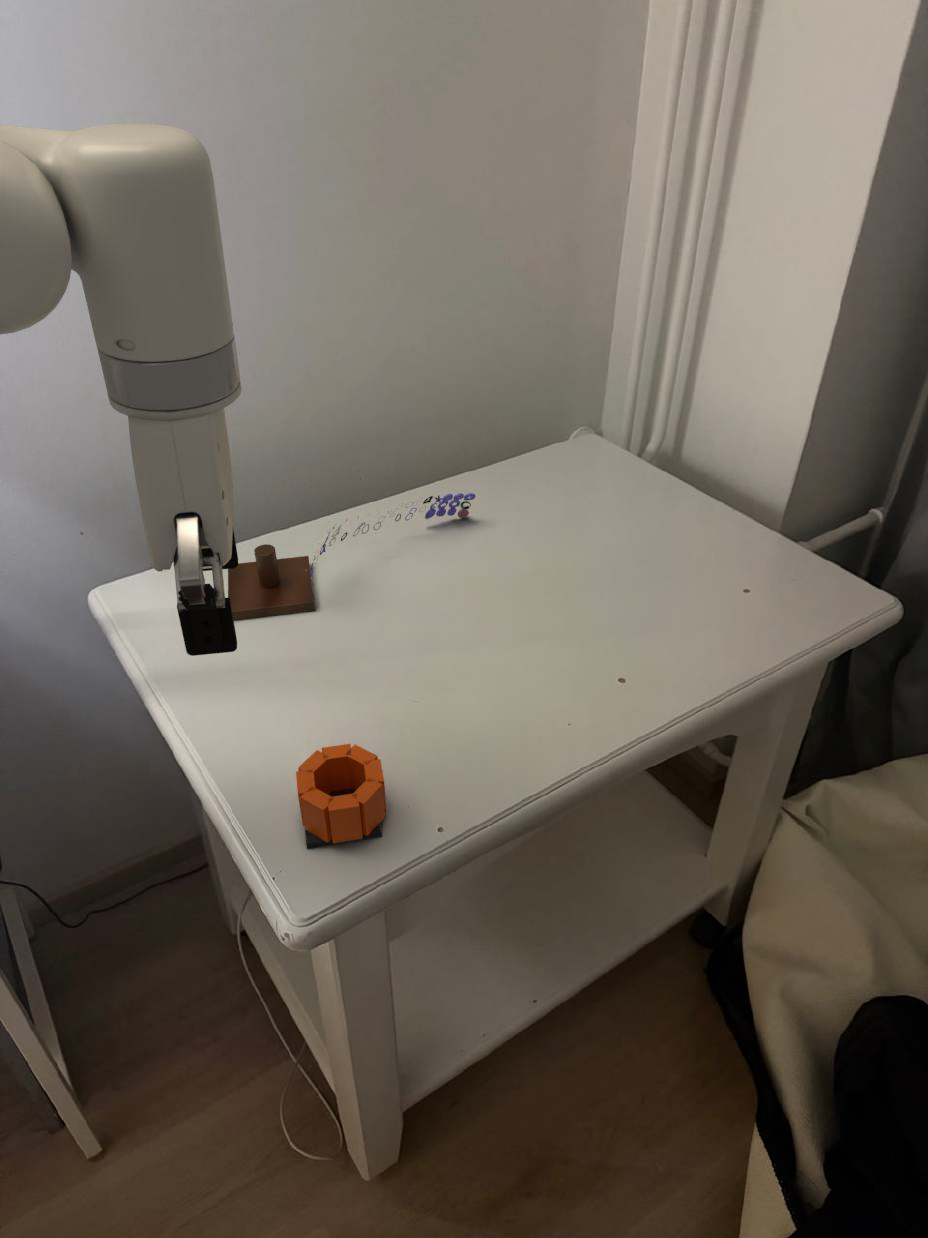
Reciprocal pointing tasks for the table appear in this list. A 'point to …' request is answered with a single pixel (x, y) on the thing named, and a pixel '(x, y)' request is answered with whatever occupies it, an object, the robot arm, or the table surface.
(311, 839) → the mat
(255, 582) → the rack
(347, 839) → the orange octagonal tube
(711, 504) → the table surface
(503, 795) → the table surface
